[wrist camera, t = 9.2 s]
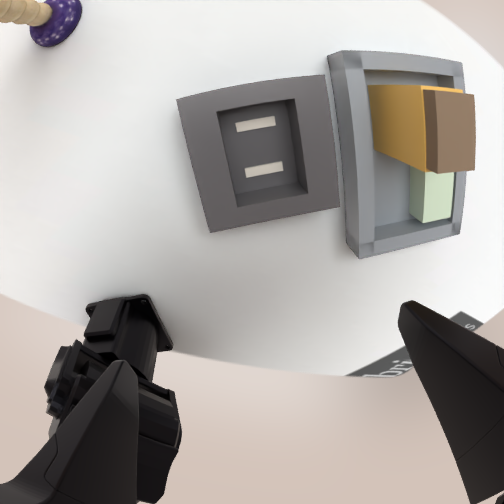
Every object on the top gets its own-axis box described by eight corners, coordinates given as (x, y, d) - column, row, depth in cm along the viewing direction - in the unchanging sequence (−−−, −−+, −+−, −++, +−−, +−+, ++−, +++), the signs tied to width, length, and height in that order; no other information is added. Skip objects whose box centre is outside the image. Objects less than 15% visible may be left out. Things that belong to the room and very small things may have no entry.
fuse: (436, 207, 21) (451, 217, 19) (409, 212, 21) (423, 223, 19) (438, 148, 18) (455, 154, 16) (409, 150, 18) (426, 156, 16)
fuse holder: (324, 191, 20) (339, 206, 17) (211, 214, 20) (210, 232, 17) (309, 78, 16) (324, 74, 13) (183, 99, 16) (176, 99, 13)
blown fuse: (410, 146, 18) (475, 173, 12) (374, 149, 18) (435, 177, 12) (405, 85, 16) (474, 91, 10) (367, 85, 16) (432, 85, 10)
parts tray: (443, 221, 22) (459, 233, 20) (346, 243, 22) (359, 259, 20) (441, 62, 15) (461, 62, 13) (327, 55, 15) (341, 50, 13)
